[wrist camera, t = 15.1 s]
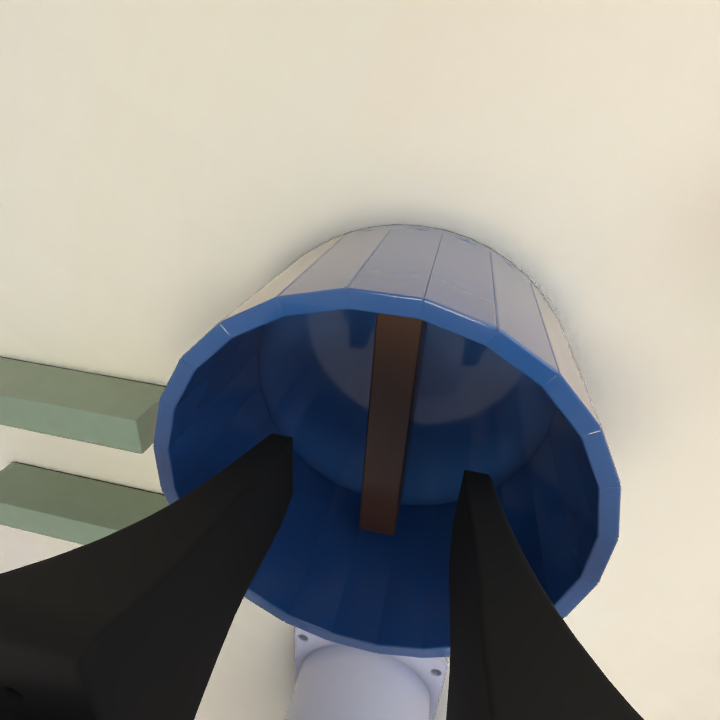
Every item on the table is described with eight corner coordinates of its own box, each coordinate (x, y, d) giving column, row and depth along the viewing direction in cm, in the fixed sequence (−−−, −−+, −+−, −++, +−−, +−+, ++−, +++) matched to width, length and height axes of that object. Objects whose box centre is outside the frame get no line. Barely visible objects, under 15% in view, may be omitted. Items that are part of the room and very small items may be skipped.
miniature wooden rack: (192, 524, 24) (164, 565, 22) (21, 484, 25) (-22, 519, 23) (173, 387, 20) (136, 420, 18) (-27, 351, 22) (-84, 378, 19)
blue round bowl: (526, 527, 19) (547, 698, 14) (260, 473, 21) (180, 604, 15) (615, 246, 14) (710, 336, 8) (247, 206, 16) (118, 257, 10)
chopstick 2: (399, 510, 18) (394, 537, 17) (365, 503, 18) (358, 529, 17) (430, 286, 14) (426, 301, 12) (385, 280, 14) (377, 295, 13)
